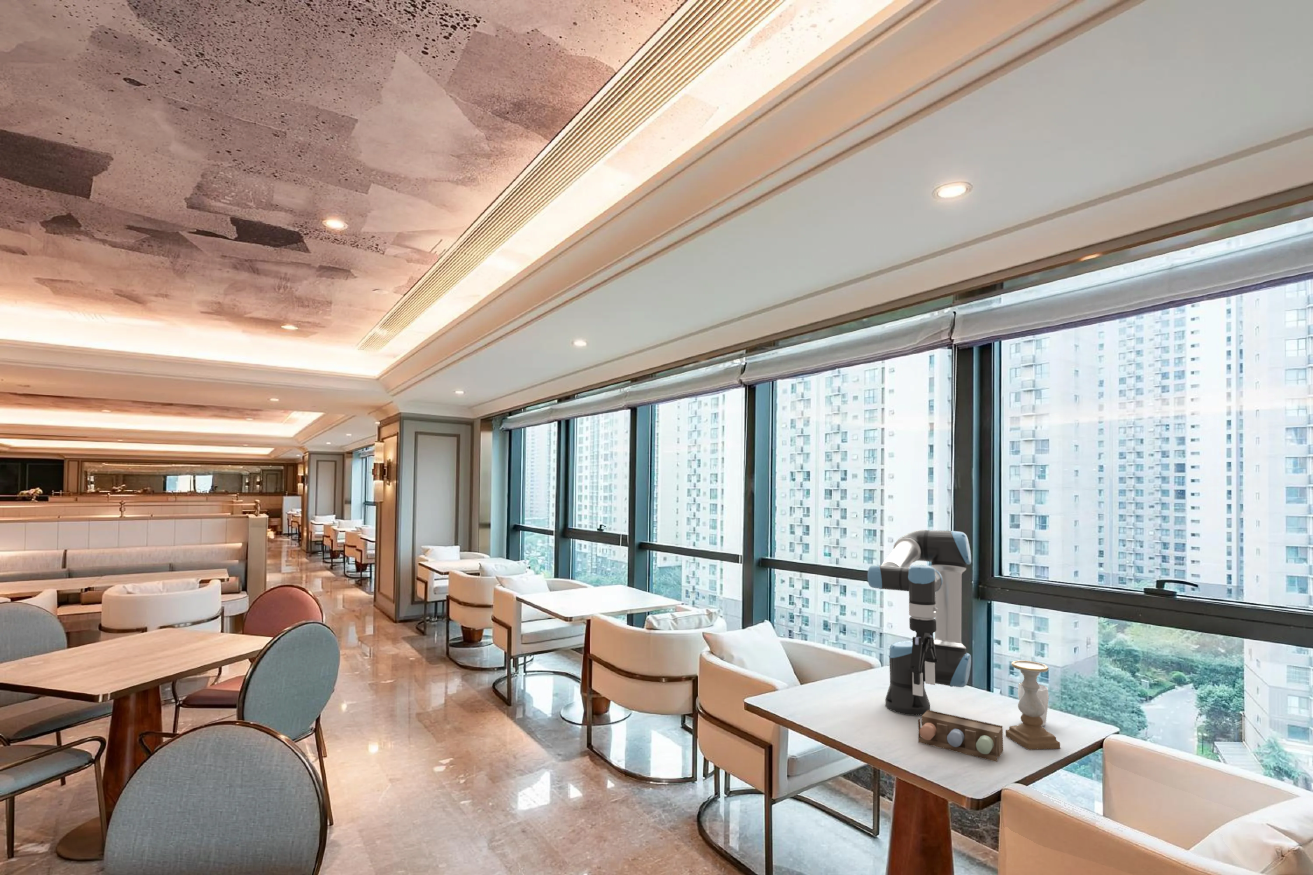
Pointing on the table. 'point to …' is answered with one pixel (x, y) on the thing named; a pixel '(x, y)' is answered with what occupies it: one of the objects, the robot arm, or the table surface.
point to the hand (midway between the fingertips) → (924, 689)
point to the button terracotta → (928, 731)
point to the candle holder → (1031, 711)
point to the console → (968, 728)
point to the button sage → (984, 744)
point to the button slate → (955, 737)
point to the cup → (1043, 697)
